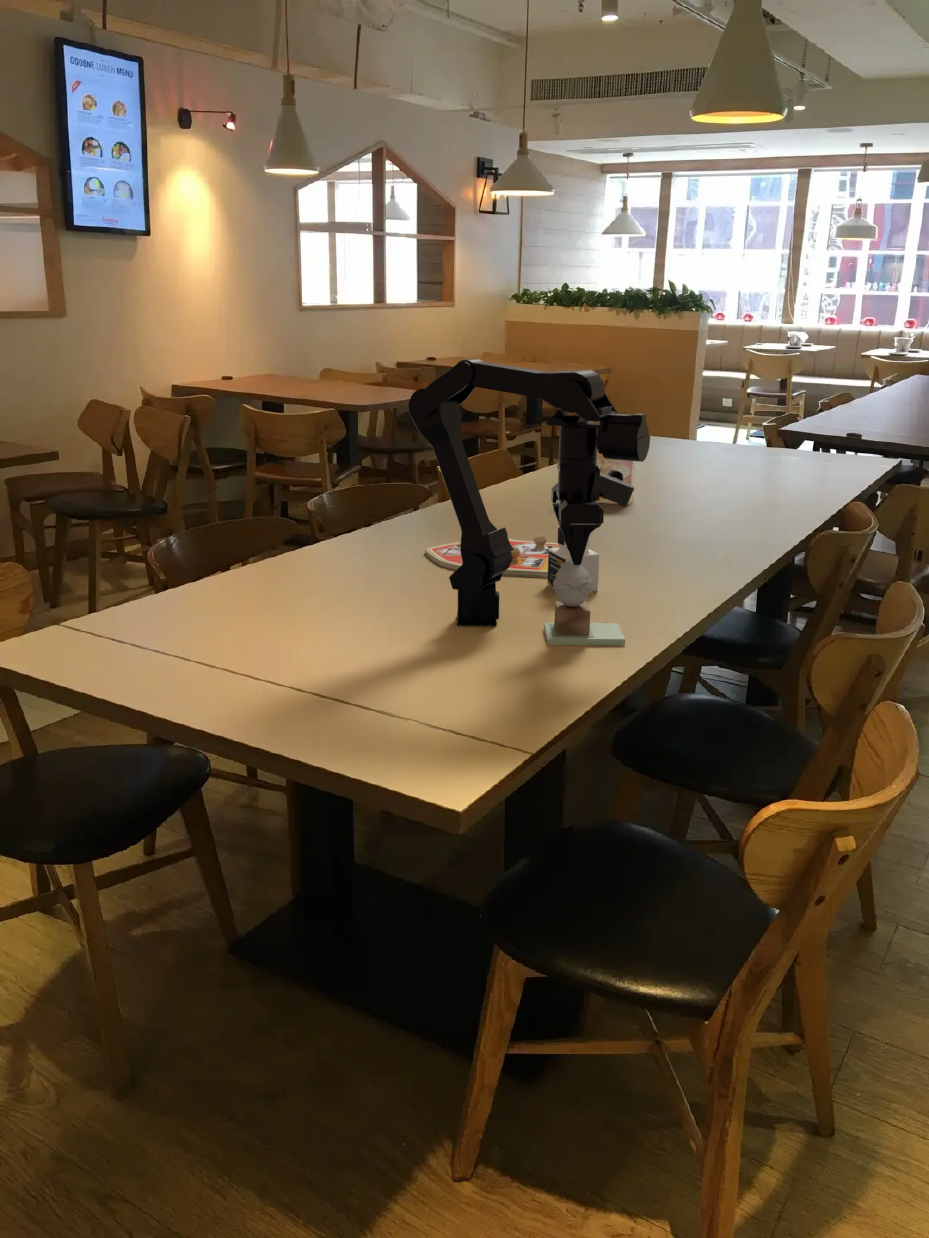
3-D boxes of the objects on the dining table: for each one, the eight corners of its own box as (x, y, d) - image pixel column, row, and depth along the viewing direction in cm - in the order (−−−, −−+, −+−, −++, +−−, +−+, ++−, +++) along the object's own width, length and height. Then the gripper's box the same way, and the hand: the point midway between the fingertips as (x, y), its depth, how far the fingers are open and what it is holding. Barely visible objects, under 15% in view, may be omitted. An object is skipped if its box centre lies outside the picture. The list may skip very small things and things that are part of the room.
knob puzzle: (555, 582, 190) (555, 560, 188) (406, 574, 196) (406, 551, 194) (572, 547, 217) (573, 527, 215) (441, 541, 223) (441, 521, 221)
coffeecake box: (574, 501, 264) (576, 428, 258) (579, 497, 270) (581, 425, 264) (630, 505, 260) (634, 430, 254) (634, 500, 266) (638, 427, 260)
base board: (547, 644, 154) (547, 638, 153) (544, 628, 161) (544, 622, 161) (624, 645, 154) (625, 638, 153) (617, 628, 161) (617, 622, 161)
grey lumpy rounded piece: (587, 599, 160) (589, 557, 157) (594, 612, 153) (596, 568, 151) (549, 599, 159) (551, 557, 157) (555, 612, 153) (557, 568, 150)
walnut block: (557, 635, 155) (558, 610, 153) (554, 625, 159) (555, 601, 158) (589, 635, 155) (590, 610, 153) (585, 625, 159) (586, 601, 158)
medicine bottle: (546, 585, 186) (548, 522, 182) (580, 581, 188) (583, 520, 185) (563, 595, 180) (565, 530, 176) (598, 591, 182) (601, 527, 178)
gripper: (641, 466, 140) (635, 573, 144) (622, 448, 157) (617, 543, 162) (562, 466, 140) (559, 573, 145) (552, 448, 158) (549, 543, 162)
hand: (574, 557), depth 153 cm, fingers open, 9 cm apart
